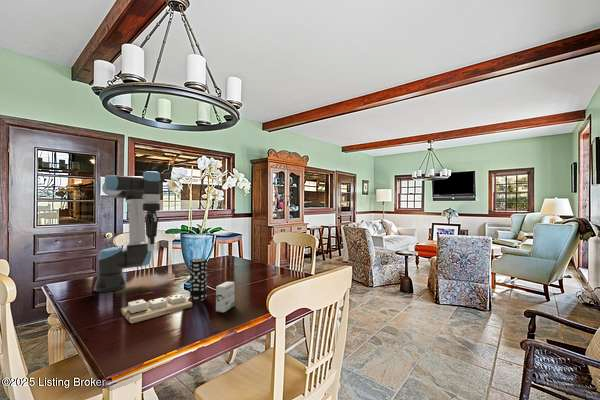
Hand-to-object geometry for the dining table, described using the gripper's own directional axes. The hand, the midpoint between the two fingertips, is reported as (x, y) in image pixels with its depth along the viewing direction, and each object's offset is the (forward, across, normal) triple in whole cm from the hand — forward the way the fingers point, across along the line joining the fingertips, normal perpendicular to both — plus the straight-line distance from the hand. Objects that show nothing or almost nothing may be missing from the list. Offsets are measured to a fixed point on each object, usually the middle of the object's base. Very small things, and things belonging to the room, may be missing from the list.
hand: (151, 250), depth 136 cm
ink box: (+27, +31, +24) cm, 47 cm away
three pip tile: (+26, +10, +9) cm, 29 cm away
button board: (+26, +10, 0) cm, 28 cm away
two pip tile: (+25, +10, 0) cm, 27 cm away
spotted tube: (+27, +9, +20) cm, 35 cm away
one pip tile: (+24, +10, -8) cm, 27 cm away
